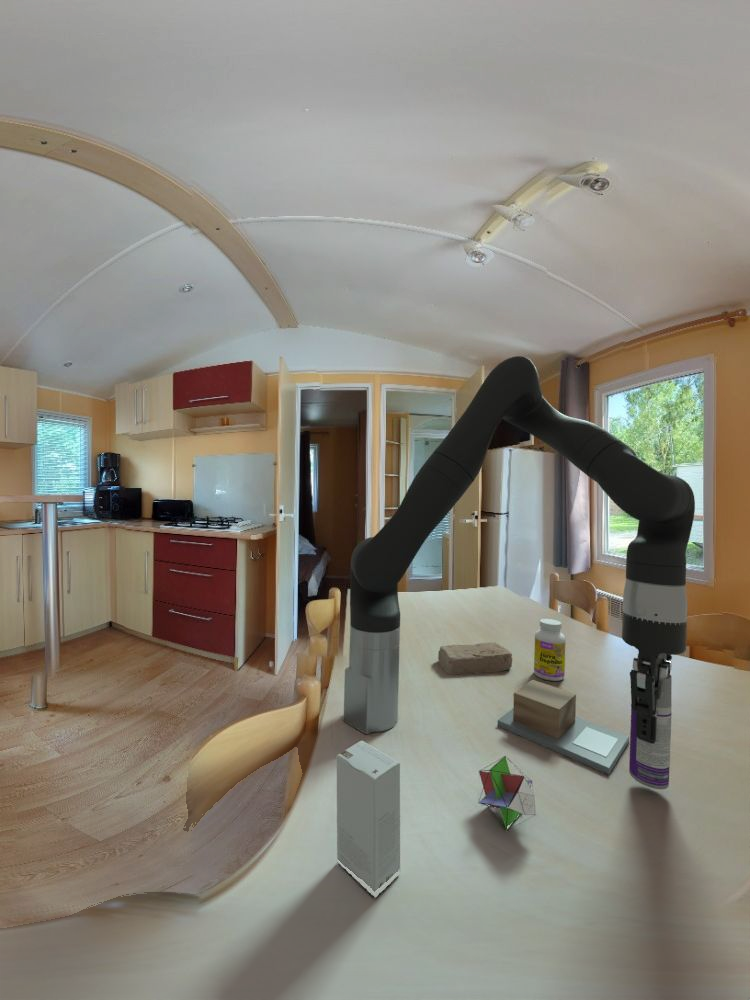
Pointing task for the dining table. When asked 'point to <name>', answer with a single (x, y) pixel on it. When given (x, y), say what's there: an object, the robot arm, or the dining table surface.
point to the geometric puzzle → (507, 792)
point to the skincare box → (368, 813)
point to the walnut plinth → (544, 708)
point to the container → (653, 745)
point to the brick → (474, 658)
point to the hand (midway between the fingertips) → (650, 732)
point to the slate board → (577, 741)
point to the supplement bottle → (549, 651)
